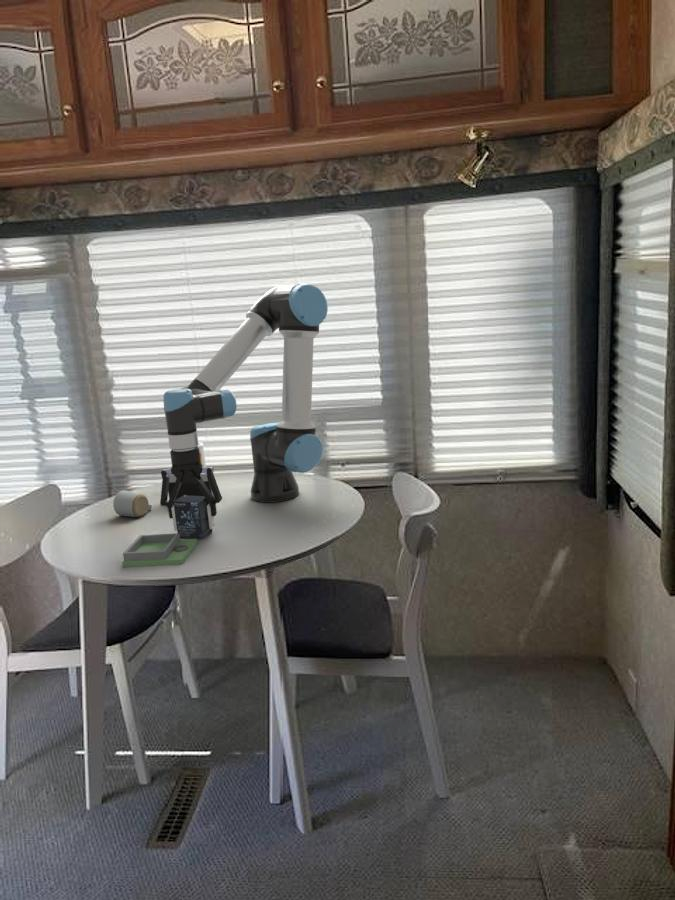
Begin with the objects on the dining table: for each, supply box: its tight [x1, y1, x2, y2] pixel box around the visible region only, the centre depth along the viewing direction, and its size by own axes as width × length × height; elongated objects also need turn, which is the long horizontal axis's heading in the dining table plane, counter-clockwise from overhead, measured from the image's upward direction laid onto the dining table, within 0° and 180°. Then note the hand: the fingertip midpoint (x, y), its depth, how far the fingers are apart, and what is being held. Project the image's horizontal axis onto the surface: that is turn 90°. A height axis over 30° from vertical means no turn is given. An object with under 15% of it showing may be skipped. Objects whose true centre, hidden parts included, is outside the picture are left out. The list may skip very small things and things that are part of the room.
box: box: [173, 495, 213, 540], centre depth 188 cm, size 8×6×11 cm
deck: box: [122, 533, 198, 567], centre depth 176 cm, size 15×14×3 cm
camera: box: [168, 471, 214, 500], centre depth 220 cm, size 14×8×10 cm, turn 80°
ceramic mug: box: [113, 490, 153, 518], centre depth 211 cm, size 11×8×8 cm
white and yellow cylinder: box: [197, 440, 207, 467], centre depth 237 cm, size 6×6×15 cm
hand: (194, 528), depth 188 cm, fingers closed on box, 9 cm apart
